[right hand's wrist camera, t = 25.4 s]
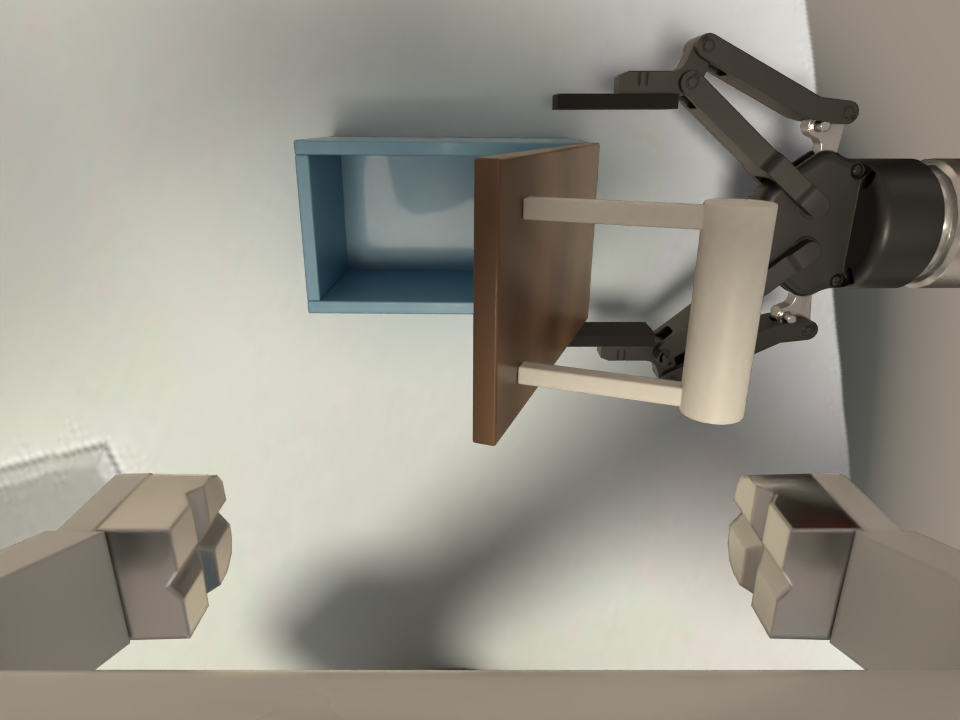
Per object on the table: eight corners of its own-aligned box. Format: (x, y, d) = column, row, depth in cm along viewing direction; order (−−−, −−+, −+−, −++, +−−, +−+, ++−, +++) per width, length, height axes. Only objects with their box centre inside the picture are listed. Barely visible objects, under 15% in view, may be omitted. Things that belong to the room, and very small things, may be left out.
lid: (471, 443, 23) (739, 490, 20) (472, 157, 19) (793, 166, 17) (573, 316, 37) (735, 333, 34) (583, 142, 34) (763, 146, 31)
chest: (340, 277, 46) (308, 313, 38) (330, 136, 43) (293, 140, 34) (560, 279, 46) (579, 315, 38) (568, 138, 43) (590, 142, 34)
